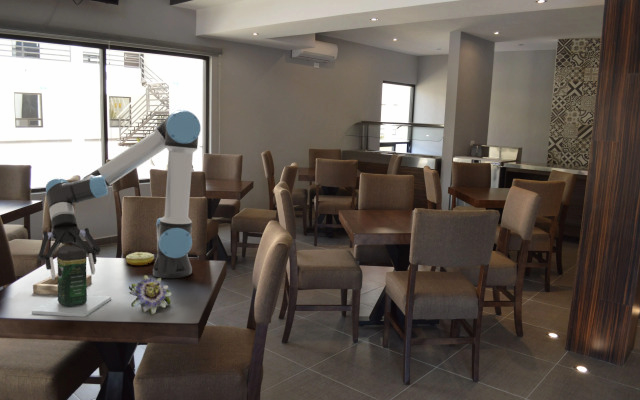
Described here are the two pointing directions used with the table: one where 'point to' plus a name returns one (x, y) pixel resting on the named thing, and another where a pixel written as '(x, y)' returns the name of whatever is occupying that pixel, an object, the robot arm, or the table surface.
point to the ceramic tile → (72, 307)
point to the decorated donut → (139, 258)
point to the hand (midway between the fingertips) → (74, 274)
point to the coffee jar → (71, 276)
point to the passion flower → (150, 294)
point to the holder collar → (52, 285)
